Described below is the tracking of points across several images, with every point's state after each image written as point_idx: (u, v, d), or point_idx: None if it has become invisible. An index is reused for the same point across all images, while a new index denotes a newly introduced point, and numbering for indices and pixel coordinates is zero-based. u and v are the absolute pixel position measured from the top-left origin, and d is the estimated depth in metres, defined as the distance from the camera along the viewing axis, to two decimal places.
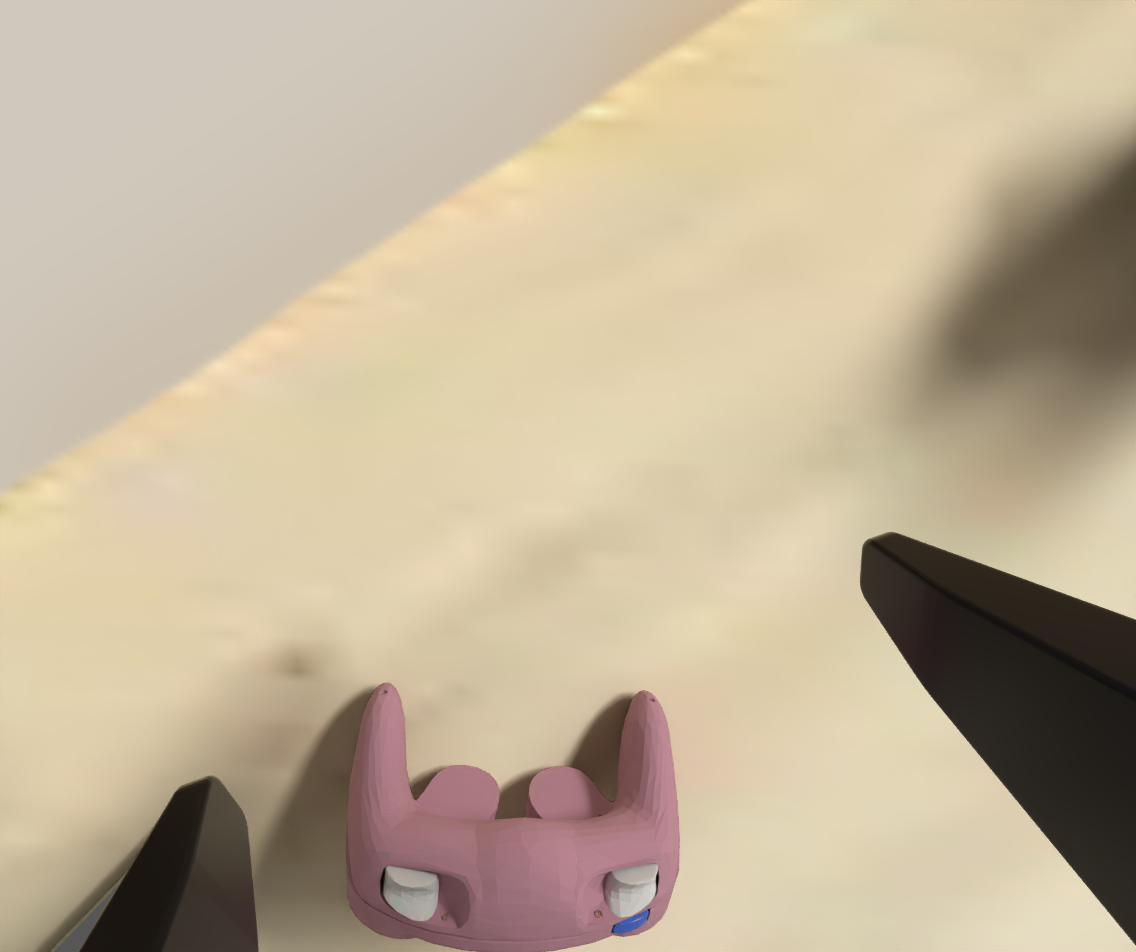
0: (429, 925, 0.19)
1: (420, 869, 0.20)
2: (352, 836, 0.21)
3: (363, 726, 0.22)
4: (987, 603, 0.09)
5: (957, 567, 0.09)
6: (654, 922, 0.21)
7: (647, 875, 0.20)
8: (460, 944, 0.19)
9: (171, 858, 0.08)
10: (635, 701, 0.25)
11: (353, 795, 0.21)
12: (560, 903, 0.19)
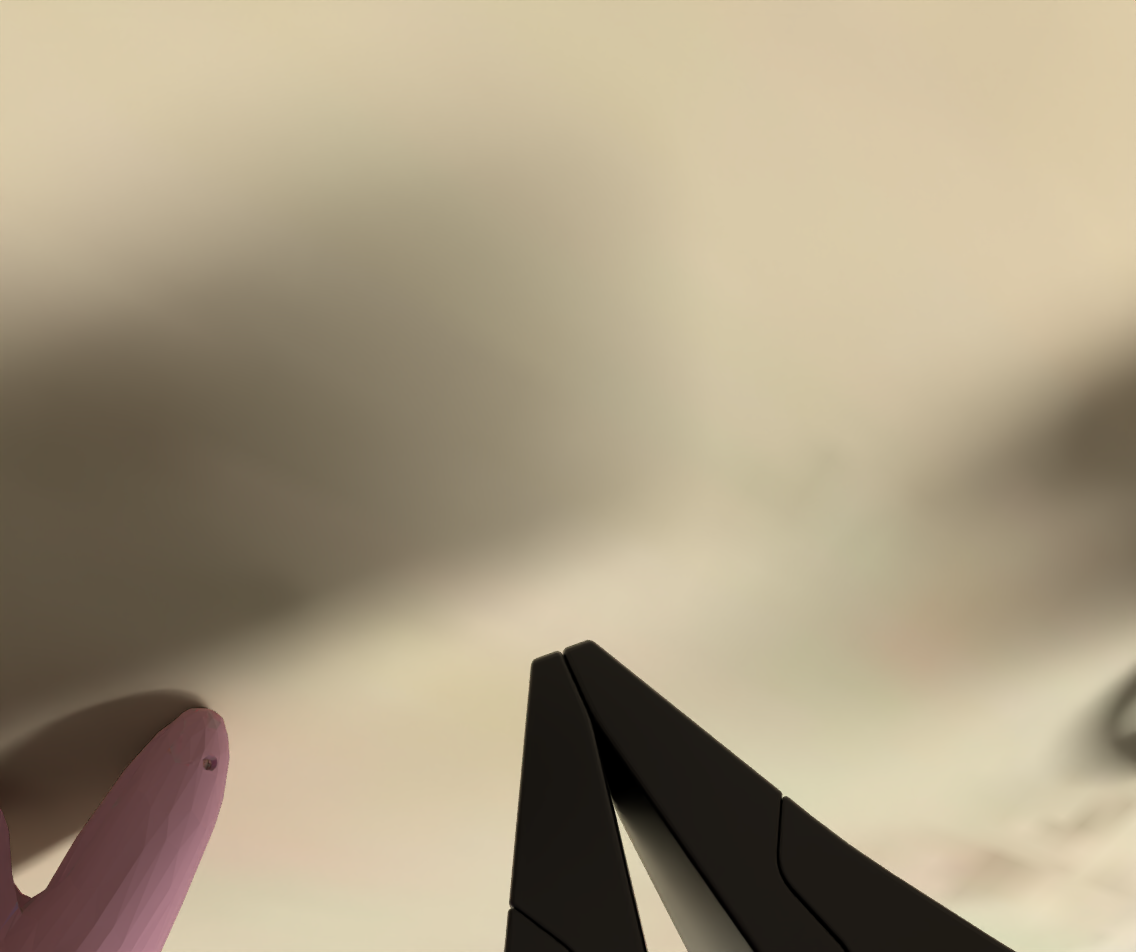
0: None
1: None
2: None
3: None
4: (628, 740, 0.08)
5: (624, 692, 0.09)
6: None
7: None
8: None
9: (567, 711, 0.09)
10: (177, 743, 0.11)
11: None
12: None
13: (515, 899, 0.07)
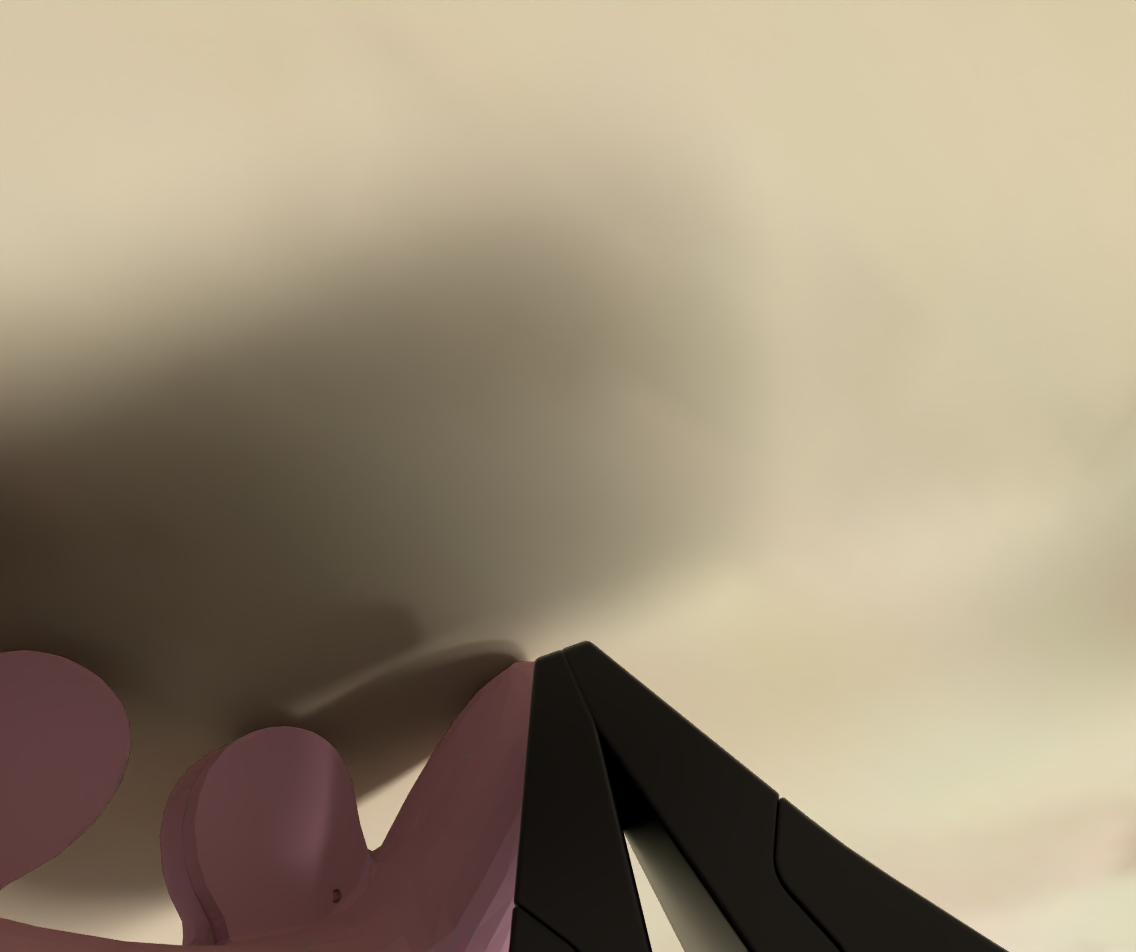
0: None
1: None
2: None
3: None
4: (625, 742, 0.08)
5: (622, 693, 0.09)
6: None
7: None
8: None
9: (571, 710, 0.09)
10: None
11: None
12: None
13: (519, 898, 0.07)
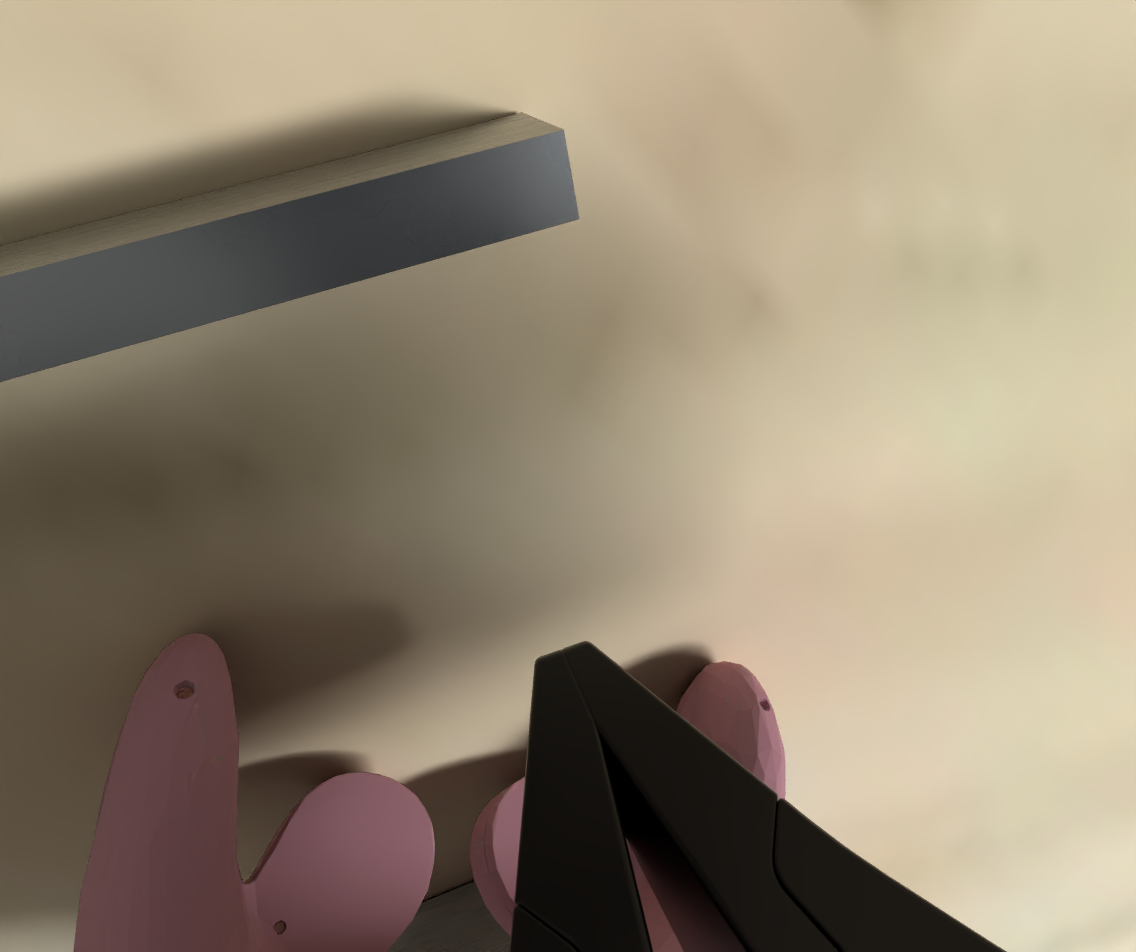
0: None
1: None
2: None
3: (121, 782, 0.08)
4: (624, 742, 0.08)
5: (621, 693, 0.09)
6: None
7: None
8: None
9: (571, 709, 0.09)
10: (727, 695, 0.12)
11: None
12: None
13: (520, 897, 0.07)
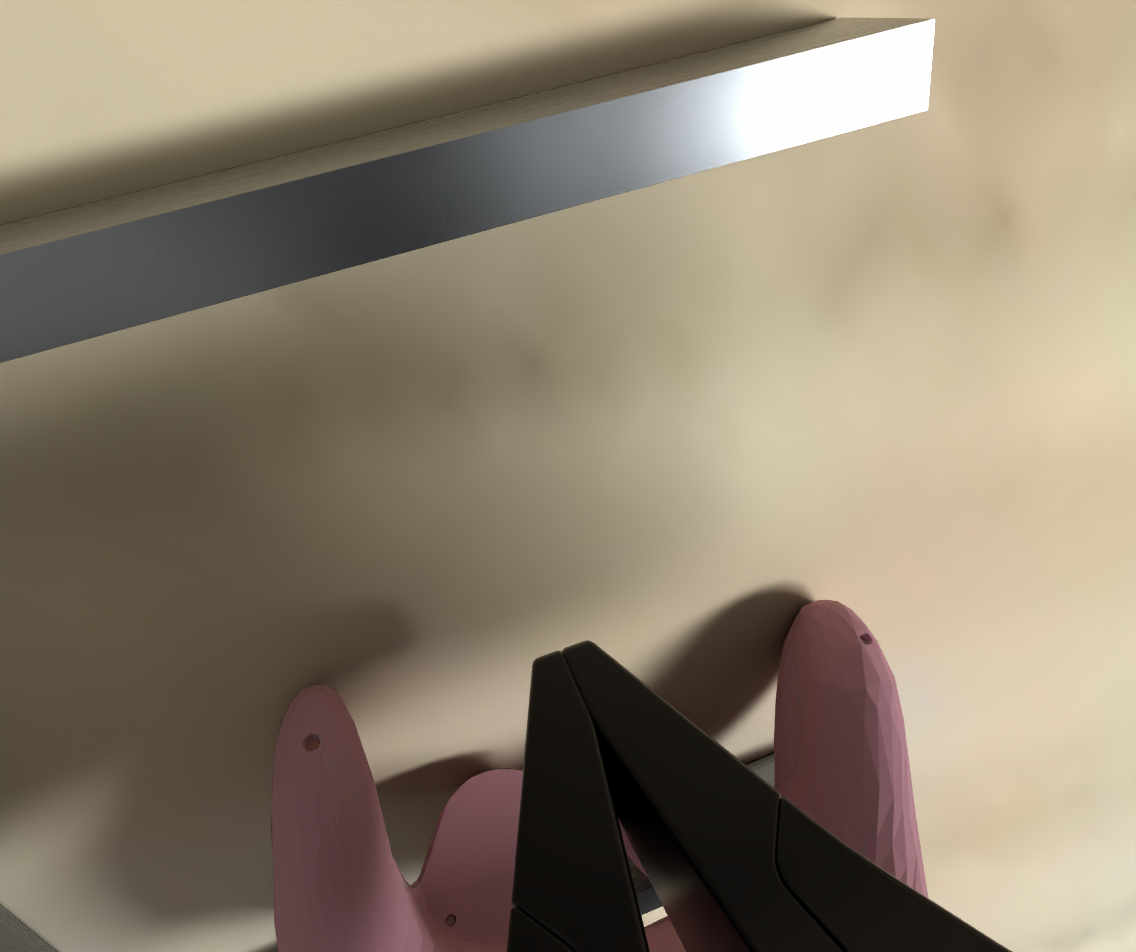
0: None
1: None
2: None
3: (280, 830, 0.10)
4: (627, 741, 0.08)
5: (623, 692, 0.09)
6: None
7: None
8: None
9: (569, 710, 0.09)
10: (826, 635, 0.12)
11: None
12: None
13: (517, 898, 0.07)
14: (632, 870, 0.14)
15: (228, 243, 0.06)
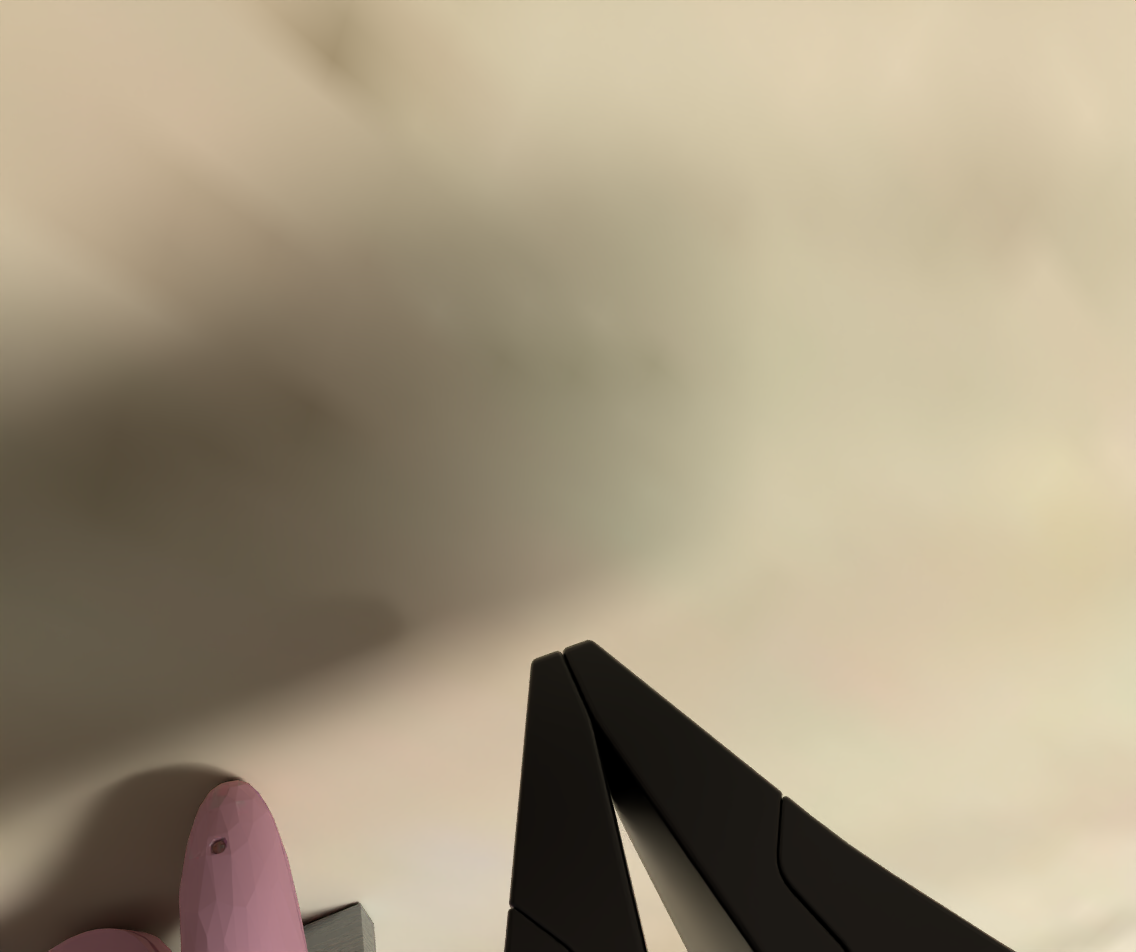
0: None
1: None
2: None
3: None
4: (628, 741, 0.08)
5: (624, 692, 0.09)
6: None
7: None
8: None
9: (567, 711, 0.09)
10: (190, 837, 0.11)
11: None
12: None
13: (515, 899, 0.07)
14: None
15: None
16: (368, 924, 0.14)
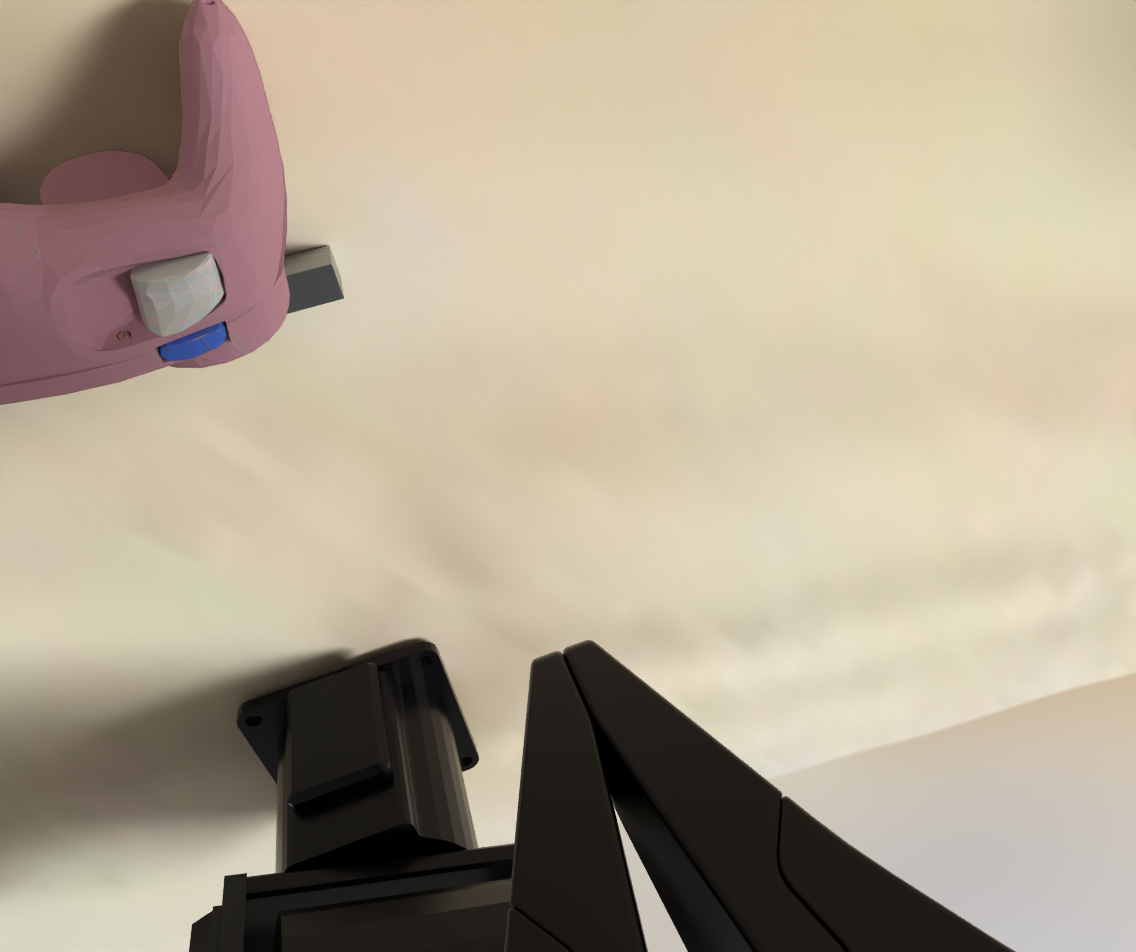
0: None
1: None
2: None
3: None
4: (628, 741, 0.08)
5: (625, 692, 0.09)
6: (252, 344, 0.14)
7: (186, 267, 0.12)
8: None
9: (567, 711, 0.09)
10: None
11: None
12: (20, 320, 0.12)
13: (515, 899, 0.07)
14: None
15: None
16: (335, 265, 0.18)
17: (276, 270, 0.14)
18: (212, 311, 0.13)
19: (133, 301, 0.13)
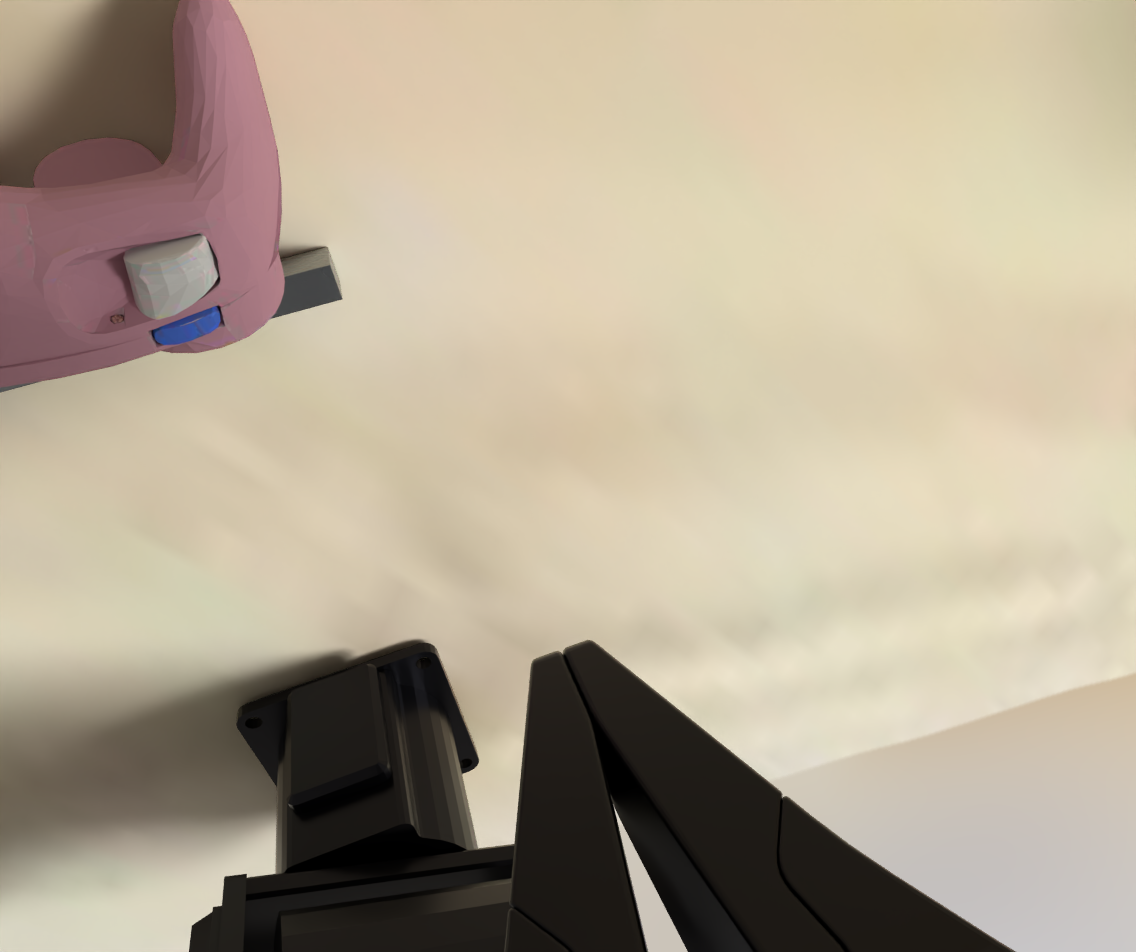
0: None
1: None
2: None
3: None
4: (628, 740, 0.08)
5: (624, 691, 0.09)
6: (247, 329, 0.14)
7: (181, 249, 0.12)
8: None
9: (567, 711, 0.09)
10: None
11: None
12: (13, 301, 0.12)
13: (515, 899, 0.07)
14: None
15: None
16: (334, 266, 0.18)
17: (271, 255, 0.14)
18: (206, 295, 0.13)
19: (127, 285, 0.13)
